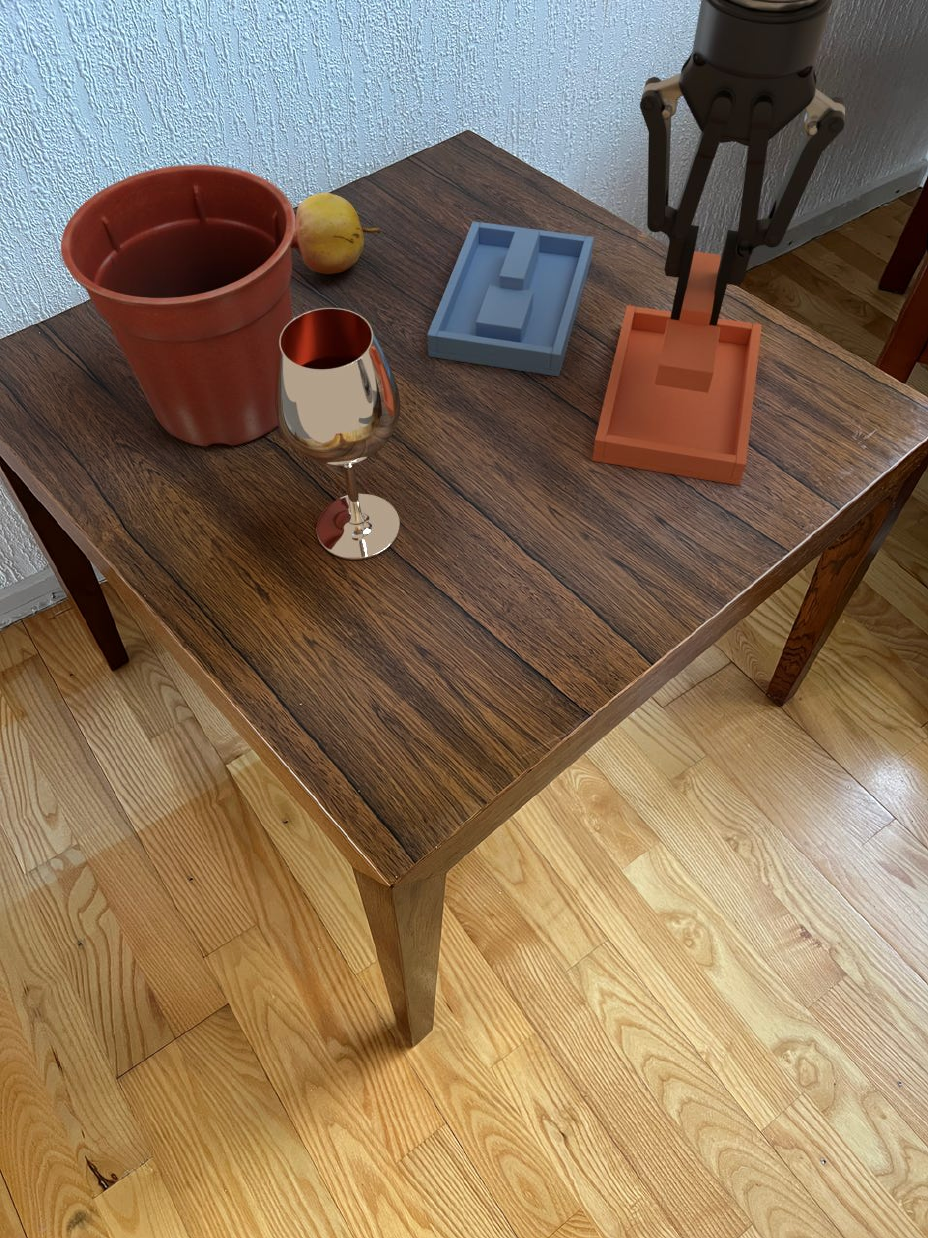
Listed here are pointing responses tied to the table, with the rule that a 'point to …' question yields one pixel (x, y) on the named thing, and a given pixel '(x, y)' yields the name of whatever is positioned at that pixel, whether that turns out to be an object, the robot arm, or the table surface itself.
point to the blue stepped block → (511, 291)
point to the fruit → (328, 233)
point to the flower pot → (192, 291)
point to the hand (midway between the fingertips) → (695, 310)
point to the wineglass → (339, 419)
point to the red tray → (678, 404)
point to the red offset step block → (692, 332)
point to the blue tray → (551, 286)
